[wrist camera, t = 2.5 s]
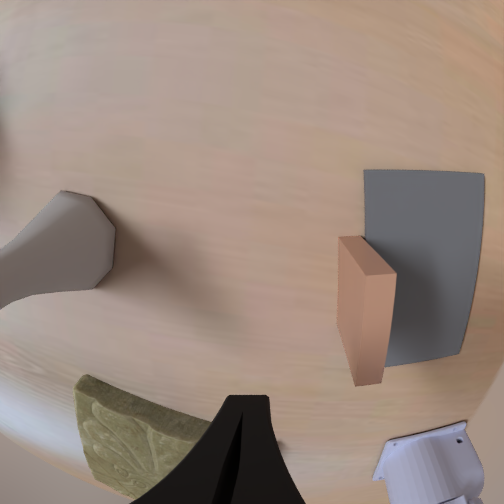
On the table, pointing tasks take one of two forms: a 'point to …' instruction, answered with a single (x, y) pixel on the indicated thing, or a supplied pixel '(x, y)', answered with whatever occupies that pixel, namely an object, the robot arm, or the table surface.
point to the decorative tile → (131, 436)
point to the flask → (58, 250)
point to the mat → (426, 255)
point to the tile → (364, 308)
